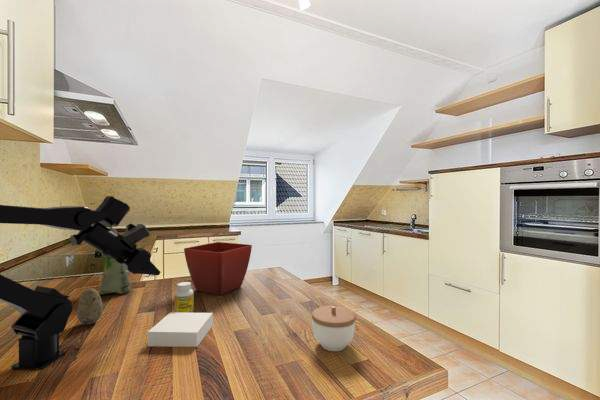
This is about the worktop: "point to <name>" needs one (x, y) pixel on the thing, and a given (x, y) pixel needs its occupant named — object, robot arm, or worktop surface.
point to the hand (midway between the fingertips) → (153, 270)
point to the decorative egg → (89, 307)
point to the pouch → (114, 277)
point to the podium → (180, 329)
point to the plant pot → (218, 266)
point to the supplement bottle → (184, 298)
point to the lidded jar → (333, 327)
